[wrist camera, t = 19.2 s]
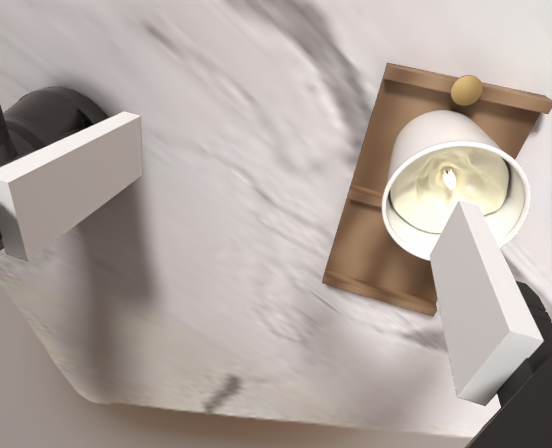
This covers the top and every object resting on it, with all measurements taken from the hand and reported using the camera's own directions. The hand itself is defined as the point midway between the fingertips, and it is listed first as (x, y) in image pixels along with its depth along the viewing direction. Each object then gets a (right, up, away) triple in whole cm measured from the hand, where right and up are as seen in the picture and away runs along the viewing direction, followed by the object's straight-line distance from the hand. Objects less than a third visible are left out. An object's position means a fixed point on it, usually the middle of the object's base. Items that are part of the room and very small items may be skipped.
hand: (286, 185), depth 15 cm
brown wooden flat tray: (+15, +1, +26) cm, 30 cm away
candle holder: (+15, +6, +22) cm, 27 cm away
